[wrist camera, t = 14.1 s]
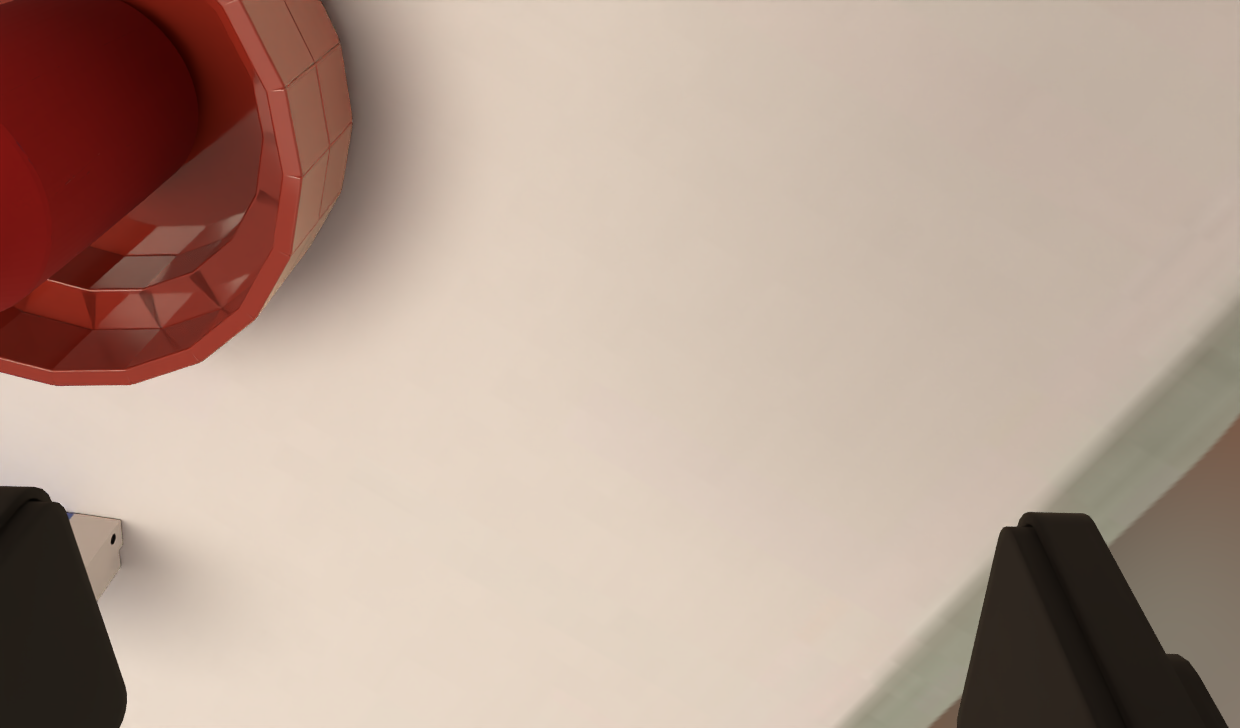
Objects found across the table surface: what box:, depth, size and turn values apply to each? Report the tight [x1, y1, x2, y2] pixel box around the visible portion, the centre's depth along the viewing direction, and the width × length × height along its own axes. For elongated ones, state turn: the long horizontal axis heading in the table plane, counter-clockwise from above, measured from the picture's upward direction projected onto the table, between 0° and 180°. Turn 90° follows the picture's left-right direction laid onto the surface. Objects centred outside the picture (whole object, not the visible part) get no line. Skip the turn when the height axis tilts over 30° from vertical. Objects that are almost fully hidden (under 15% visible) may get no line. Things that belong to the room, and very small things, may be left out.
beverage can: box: [0, 0, 198, 312], centre depth 30 cm, size 7×7×12 cm
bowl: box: [0, 0, 353, 386], centre depth 33 cm, size 16×16×6 cm
